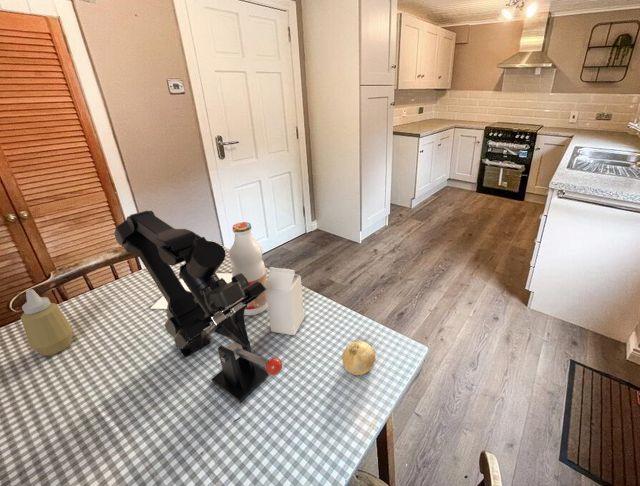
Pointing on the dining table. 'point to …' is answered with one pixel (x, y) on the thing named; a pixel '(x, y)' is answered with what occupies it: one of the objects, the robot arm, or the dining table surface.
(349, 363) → the onion
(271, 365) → the lever
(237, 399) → the bracket
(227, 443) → the dining table surface
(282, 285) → the milk carton
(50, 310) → the squeeze bottle
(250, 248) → the fruit juice
